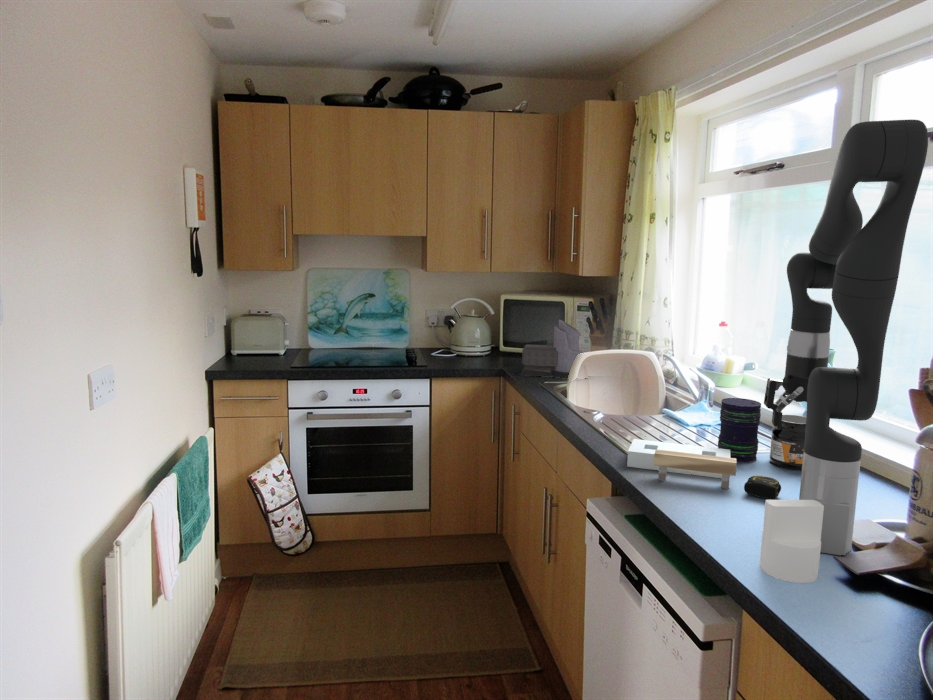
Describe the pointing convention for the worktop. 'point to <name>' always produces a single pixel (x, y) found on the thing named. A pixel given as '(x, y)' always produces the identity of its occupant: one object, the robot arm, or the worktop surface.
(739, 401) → the storage jar
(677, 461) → the miniature wooden bench
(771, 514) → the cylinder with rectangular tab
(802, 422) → the supplement container
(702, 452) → the slot board
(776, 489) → the tape measure
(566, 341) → the juicer
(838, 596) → the worktop surface
